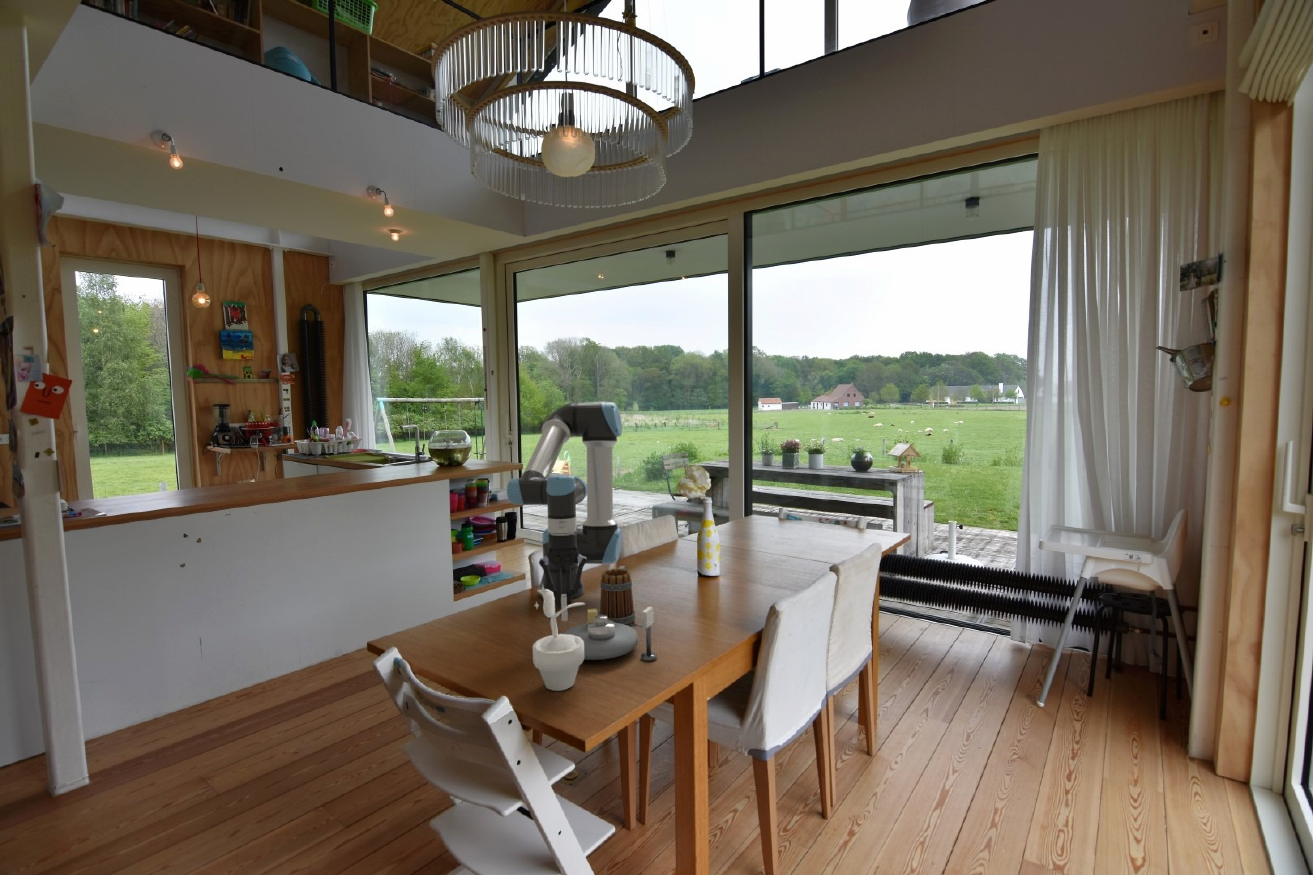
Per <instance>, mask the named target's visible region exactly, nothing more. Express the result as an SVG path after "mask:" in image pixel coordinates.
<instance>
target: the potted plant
mask: <svg viewBox="0 0 1313 875" xmlns="http://www.w3.org/2000/svg"><path fill="white" fill-rule="evenodd" d="M536 592H538V593H539V592H540V593H541V594H542V596H543V598H542V599H543V604H542V608H543V614H544V615H545V616H546V617H547V618H550V622H549V624H550V628H551V634H552V635H547V636H544V637H541V638H539V639H538V640H536V641H535V642H534V643H533V644H532V663H533V665H534V666H535V668H536V669H538V670H539V673H540V675H541V678H542V681H543V683H544V686H545V687H546V689H547V690H551V691H553V692H554V691H555V692H560V691H561V692H562V691H565V690H568V689H569V688H571V687H573V686H574V684H575V682H576V678H577V675H578V672H579V668H580V666H581V665H582V664H583V663H584V660H585V659H584V641H583V640H582V639H581V638H580V637H578V636H574V635H567V634H563V633H558V632H559V631H558V625H557V617H559V616H560V615H562V614H561V613H562V611H564V610H565V609H567V610H568V609H571V608H573V607H580V606H586V603H585V602H574V603H571V605H568V606H567V607H565V608H564V609H562V610H561V609H560V610H559V611H557V612H556V604H555V603H556V602H555V601H556V600H555V598H554V594H553V592H552V591H550V590H548V589H544V586H543V585H542V589H541V590H539V589H537V590H536ZM539 606H540V604H538V601H535V604H534V605H533V607H536V609H538V608H539ZM570 607H571V608H570Z"/></svg>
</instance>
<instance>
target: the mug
mask: <svg viewBox="0 0 1313 875" xmlns="http://www.w3.org/2000/svg"><path fill="white" fill-rule="evenodd" d="M632 586H633V581H632V578H631V572H630V570H627V566H626V565H619V567H618V568H610V569H606V570H605V571H602V574H601V580H600V602H599V603H600V604H599V605H600V606H599V612H598V615H607V620H611V621H613V622H614V623H620V624H624V625H627V626H630V627H631V624H635V619H636V613H635V610H634V600H633V590H632Z"/></svg>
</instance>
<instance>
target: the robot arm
mask: <svg viewBox="0 0 1313 875" xmlns="http://www.w3.org/2000/svg"><path fill="white" fill-rule="evenodd" d="M542 424H543V425H542V427H541V436H540V438H539V440H538V442H537V444H536V446H535V448H534V450H533V453H532V454H531V456H530V459H529V460H528V463H527V465H526V467H525V469H524V470H523V472H522V474H521V477H516V478H512V479H510V480H509V481H508V482H507V486H506V495H507V499H508V502H509V503H510V504H512V505H520V506H537V505H538V506H542V505H543V506H547V528H546V529H544V530H543V532H542V542H541V543H542V557H541V558H540V559H539V561H538V564H539V566H541V568H542V570H543V573H542V576H541V581H540V584H539V586H538V590H541V589H542V585H543V586H544V589H548V590H550V591H552V592H553V594H554V598H555V601H556V607H557V609H560V610H562V609H564V608H565V607H567V606H568V605H571V604H572V599H575V598H579V597H581V596H582V595H584V593H585V584H584V582H583V580H582V573H583V569H584V566H585V565H586V564H587V565H588V564H589V565H590V564H591V565H603V566H604V565H611V564H615V563H617V562H618V561H619V558H620V555H621V551H622V546H623V538H624V537H623V530H622V529H621V528H619V527H618V522H617V521H616V520H615V519H614V514H613V513H614V512H613V510H614V507H613V506H614V502H613V498H614V495H613V493H614V492H613V486H614V485H613V483H614V482H613V481H614V480H613V479H614V478H613V475H614V474H613V473H614V472H613V447H614V445H615V444H617V442H618V438H617V437H621V436H622V433H623V431H622V430H623V424H622V416H621V412H620V409H619V406H618V405H617V404H616V403H614V402H612V401H588V402H587V401H586V402H584V401H582V402H578V401H577V402H570V403H566V404H563V405H562V406H559V407H558V408H557V409H555V410H553V412H552V413H551V414H550V415H549V416H547V418H546V419H545V420H544V423H542ZM577 437H578V438H581V441H582V444H583V445H584V446H586V481H585V480H584V479H582V478H581V477H578V476H574V475H572V474H564V473H563V474H554V475H551V474H552V471H553V470H554V466H555V464H556V461H557V460H558V458H559V456H560V453H561V451H562V448H563V446H564V444H566V443H568V441H569V440H570V438H577ZM585 498H586V519H585V521H583V523H582V528H579V526H578V524H577V510H576V509H577V506H576V505H578V504H580V503H582V502H583V501H584V499H585ZM538 595H539V597H540V598H541V599H543V596H542V594H541V593H540V592H538ZM571 608H572V607H570V608H569V609H571ZM560 615H561V622H567V621H568V619H569V618H568V617H569V616H568V608H567V609H565V610H564V611H562V613H561V614H560Z"/></svg>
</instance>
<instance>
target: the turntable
mask: <svg viewBox="0 0 1313 875" xmlns="http://www.w3.org/2000/svg"><path fill="white" fill-rule="evenodd" d="M586 613H587V623H584V624H578V625H576V626H573V627H570V628H568V629H567V630H565V631H564V632H562V634H567V635H574V636H578V637H580V638H581V639H582V640H583V641H584V660H586V661H587V660H589V661H590V660H591V661H594V660H595V661H597V660H599V661H600V660H607V659H613V658H617V657H620V656H623V655H626V654H628V653H630V652H631V651H633V650H634V649H635V648H637V645H638V632H637V631H636V630H635V628H634V627H631V626H627V625H624V624H620V623H615V637H613V638H612V639H609V640H604V641H595V640H591V639H590V638H589V637H588V624H589V623H590V622H592V621H595V616H597V615H599V612H598V610H597V608H591V609H587V612H586Z"/></svg>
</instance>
